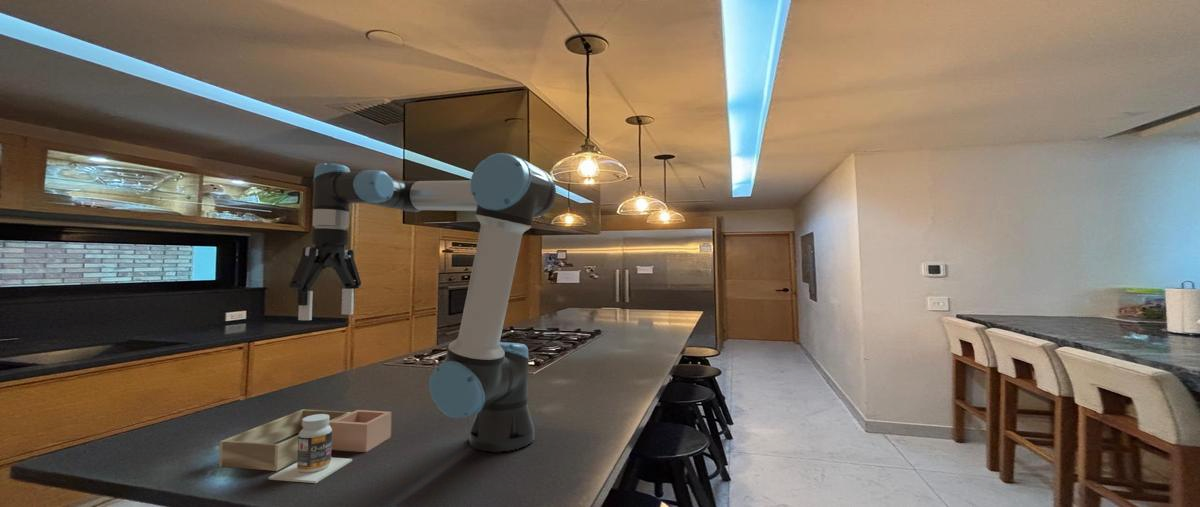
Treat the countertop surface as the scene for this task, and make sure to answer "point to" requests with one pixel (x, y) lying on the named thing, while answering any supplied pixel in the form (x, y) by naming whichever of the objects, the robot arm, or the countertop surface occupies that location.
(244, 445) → the oak crate
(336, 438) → the pink open box
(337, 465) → the square cream tile
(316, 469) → the pill bottle
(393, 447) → the countertop surface
